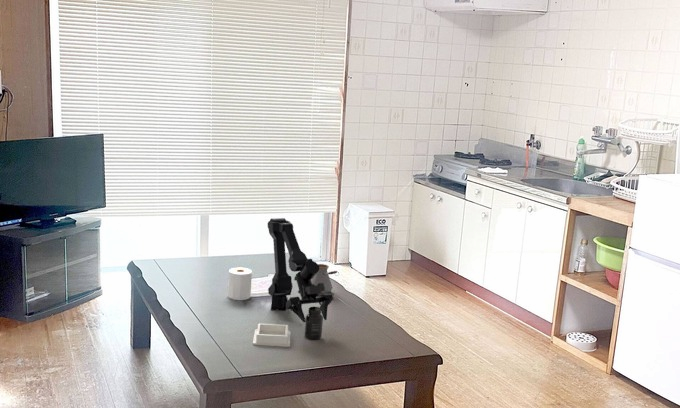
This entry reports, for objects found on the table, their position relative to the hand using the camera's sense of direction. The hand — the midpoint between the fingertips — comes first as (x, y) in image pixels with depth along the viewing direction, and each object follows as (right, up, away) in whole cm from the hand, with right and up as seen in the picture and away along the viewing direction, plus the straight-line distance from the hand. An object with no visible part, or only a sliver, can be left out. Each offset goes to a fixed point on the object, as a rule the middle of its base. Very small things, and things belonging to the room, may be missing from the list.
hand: (315, 321), depth 286 cm
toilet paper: (-36, +4, +42) cm, 55 cm away
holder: (-17, -6, -2) cm, 18 cm away
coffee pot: (+2, +3, +52) cm, 52 cm away
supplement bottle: (-1, -7, +2) cm, 7 cm away
